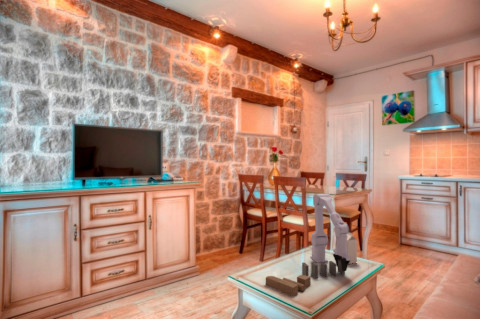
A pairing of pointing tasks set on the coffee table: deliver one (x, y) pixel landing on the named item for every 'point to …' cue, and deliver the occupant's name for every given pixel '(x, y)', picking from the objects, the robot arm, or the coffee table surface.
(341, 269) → the domino
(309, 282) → the wooden block set
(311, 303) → the coffee table surface
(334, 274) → the domino
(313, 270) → the domino
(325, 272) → the domino
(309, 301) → the coffee table surface
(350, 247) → the milk carton
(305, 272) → the domino
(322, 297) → the coffee table surface
